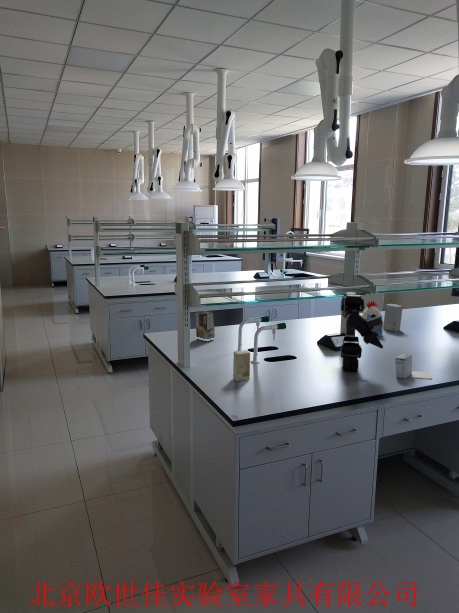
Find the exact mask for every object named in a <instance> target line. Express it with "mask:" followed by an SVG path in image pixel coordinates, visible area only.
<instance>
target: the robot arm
mask: <svg viewBox="0 0 459 613" xmlns="http://www.w3.org/2000/svg"><path fill="white" fill-rule="evenodd" d="M364 310H365V299H364V298H363V297H362V295H361V294H357V293H356V292H345V294H344V297H342V298H341V300H340V311H341V315H342V317H343V318H344V319H345V335H344V337H343V339H342V344H341V345H340V358H342V365H341V370H342V372H352V373H353V372H354V373H358V370H359V361H360V360H359V359H361V358H362V352H363V348H362V344H360V340H359V337H358V336H356V332H358V334H359V335H360V336H361V338H362V340H363V342H364V343H365V344H366V345H369V344H370V345H373V346H375V347H377V348H379V349H383V348H384V345H383V344H382V343H381V341H380V339H379V338H378V337H379V336H378V333H377V331H376V330H372V329H374V326H376V325H379V324H382V323H383V324H384V321H383V319H382V320H381V317H380V316H379V315H377V316H376V315H375V314H373V315H371V318H369V319H368V320H366V319H365V318H363V317H362V314H360V312H362V313H363V312H364ZM382 321H383V322H382Z"/></svg>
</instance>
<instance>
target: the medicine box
mask: <svg viewBox="0 0 459 613" xmlns="http://www.w3.org/2000/svg"><path fill="white" fill-rule="evenodd" d="M412 359H413V358H412V354H409V353H400V354H399V355H398V356H397V357H395V377H396V378H401V379H407V378H408V377H409V376H411V375H410V374H411V373H412V371H413V360H412Z"/></svg>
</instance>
